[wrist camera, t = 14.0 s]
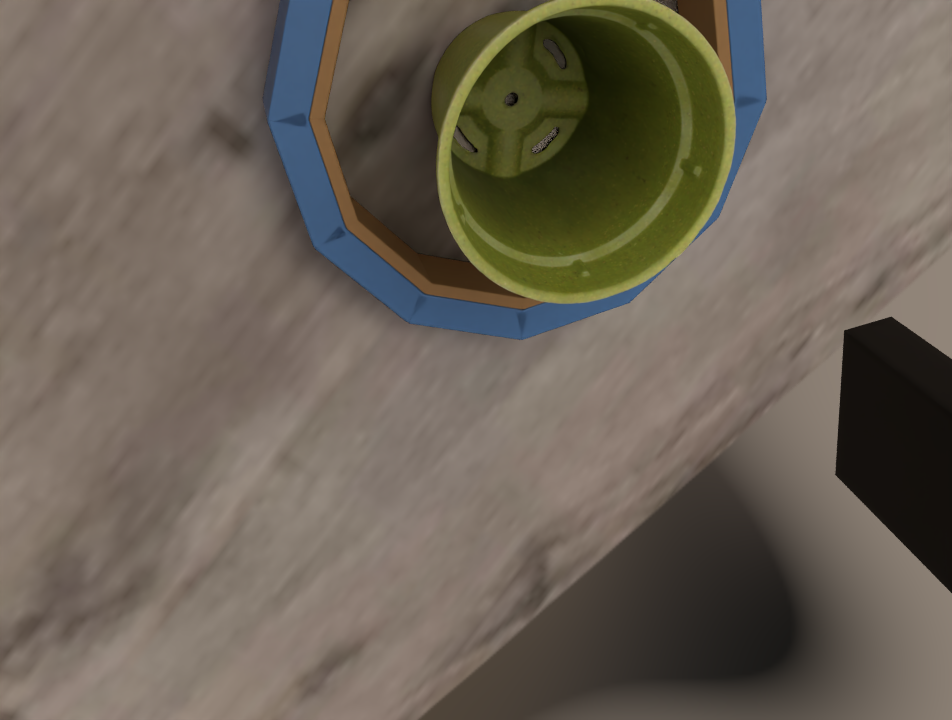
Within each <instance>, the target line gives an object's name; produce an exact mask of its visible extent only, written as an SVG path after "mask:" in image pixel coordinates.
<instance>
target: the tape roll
mask: <svg viewBox="0 0 952 720" xmlns="http://www.w3.org/2000/svg"><path fill="white" fill-rule="evenodd" d="M349 1H350V0H280V4H279V9H278V15H277V20H276V26H275V32H274V37H273V43H272V49H271V54H270V60H269V65H268V71H267V77H266V82H265V88H264V94H263V103H264V108H265V112H266V117H267V121H268V125H269V127H270V130H271V133H272V136H273V138H274V141H275V144H276V146H277V149H278V152H279V155H280V157H281V160H282V163H283V166H284V168H285V171H286V174H287V176H288V179H289V182H290V185H291V187H292V190H293V193H294V196H295V198H296V201H297V204H298V206H299V209H300V212H301V215H302V217H303V220H304V223H305V226H306V228H307V231H308V234H309V236H310V239H311V242H312V245H313V247H315V249H316V250H317V251H318V252H320V253H321V254H322V255H323V256H325V257H326V258H327V259H328V260H330V261H331V262H332V263H333V264H335V265H336V266H337V267H338V268H340V269H341V270H342V271H343V272H345V273H346V274H347V275H348V276H350V277H351V278H352V279H353V280H355V281H356V282H357V283H358V284H360V285H361V286H362V287H363V288H365V289H366V290H367V291H368V292H370V293H371V294H372V295H373V296H375V297H376V298H377V299H378V300H380V301H381V302H382V303H383V304H385V305H386V306H387V307H388V308H390V309H391V310H392V311H393V312H395V313H396V314H397V315H398V316H400V317H401V318H402V319H403V320H405V321H406V322H408V323H410V324H416V325H423V326H430V327H437V328H444V329H450V330H457V331H464V332H471V333H478V334H485V335H491V336H498V337H505V338H512V339H519V340H523V339H526V338H529V337H532V336H535V335H538V334H540V333H543V332H546V331H549V330H552V329H555V328H558V327H561V326H564V325H567V324H569V323H572V322H575V321H578V320H581V319H584V318H587V317H590V316H593V315H595V314H598V313H601V312H604V311H607V310H610V309H613V308H616V307H619V306H622V305H624V304H627V303H630V301H632V300H633V299H634V298H635V297H636V296H637V295H638V294H639V293H640V292H641V291H642V290H643V289H644V288H645V287H647V286H648V285H649V284H650V283H651V282H652V281H653V280H654V279H655V278H656V277H657V276H658V275H659V274H660V273H661V272H662V271H663V270H664V269H665V268H666V267H665V268H664V269H663V270H661V271H660V272H659V273H657V274H656V275H655V276H653V277H652V278H650V279H648V280H647V281H645V282H643V283H641V284H640V285H638V286H636V287H633V288H631V289H629V290H626V291H624V292H621V293H618V294H615V295H613V296H610V297H607V298H603V299H600V300H595V301H591V302H586V303H573V304H558V303H548V302H541V301H537V300H534V299H530V298H527V297H523V296H521V295H518V294H515V293H513V292H511V291H508V290H506V289H504V288H503V287H501V286H499V285H497V284H496V283H494V282H493V281H491V280H490V279H489V278H488V277H486V276H485V275H484V274H483V273H481V272H480V271H479V270H478V269H477V268H476V267H475V266H474V265H473V264H472V263H469V262H463V261H458V260H452V259H446V258H440V257H435V256H429V255H423V254H418V253H416V252H415V251H413V250H412V249H411V248H410V247H409V246H408V245H407V244H405V243H404V242H403V241H402V240H401V239H400V238H398V237H397V236H396V235H395V234H394V233H393V232H391V231H390V230H389V229H388V228H387V227H386V226H384V225H383V224H382V223H381V222H380V221H379V220H377V219H376V218H375V217H374V216H373V215H372V214H371V213H369V212H368V211H367V210H366V209H365V208H364V207H362V206H361V205H360V204H359V203H358V202H357V201H355V200H354V199H353V198H352V197H351V196H350V194H349V191H348V188H347V185H346V182H345V179H344V176H343V173H342V170H341V167H340V164H339V161H338V158H337V155H336V151H335V148H334V145H333V142H332V139H331V136H330V133H329V130H328V127H327V124H326V121H325V114H326V109H327V104H328V99H329V94H330V90H331V85H332V80H333V75H334V70H335V66H336V61H337V56H338V51H339V46H340V42H341V37H342V32H343V27H344V22H345V18H346V13H347V8H348V3H349ZM677 2H678V12H679V15H681V16H682V17H684V18H685V19H686V20H687V21H689V22H690V23H691V24H692V25H693V26H694V27H695V28H696V29H697V30H698V31H699V32H700V33H701V34H702V35H703V36H704V37H705V39H706V40H707V41H708V43H709V44H710V45H711V47H712V48H713V50H714V51H715V53H716V54H717V56H718V58H719V60H720V61H721V63H722V65H723V68H724V70H725V72H726V75H727V77H728V80H729V83H730V87H731V90H732V95H733V100H734V106H735V116H736V136H735V146H734V154H733V159H732V164H731V168H730V171H729V174H728V177H727V181H726V183H725V186H724V188H723V191H722V194H721V197H720V199H719V202H718V204H717V205H716V207H715V209H714V211H713V213H712V215H711V216H710V218H709V219H708V221H707V222H706V224H705V225H704V226H703V228H702V229H701V230H700V231H699V233H698V234H697V236H696V237H695V239H694V240H693V241H695V240H696V239H697V238H698V237H699V236H700V235H701V234H702V233H703V232H704V231H705V230H706V229H707V228H708V227H709V226H710V225H711V224H712V223H713V222H714V221H715V220H716V219H717V218H718V217H719V215H720V213H721V210H722V208H723V205H724V203H725V201H726V198H727V196H728V193H729V191H730V188H731V186H732V184H733V181H734V179H735V176H736V174H737V171H738V169H739V166H740V164H741V162H742V159H743V157H744V154H745V152H746V149H747V147H748V145H749V142H750V140H751V137H752V135H753V132H754V130H755V127H756V125H757V123H758V120H759V118H760V115H761V113H762V110H763V108H764V106H765V103H766V100H767V96H766V79H765V62H764V45H763V28H762V12H761V0H677ZM693 241H692V242H693ZM675 259H676V258H675ZM675 259H674V260H675ZM674 260H673V261H674ZM673 261H672V262H673ZM672 262H670V264H671V263H672Z"/></svg>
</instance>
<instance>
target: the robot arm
mask: <svg viewBox="0 0 952 720" xmlns="http://www.w3.org/2000/svg"><path fill="white" fill-rule="evenodd" d="M835 475H836V476H837V477H838V478H839V479H840V480H841V481H842V482H843V483H844V484H845V485H846V486H847V487H848V488H849V489H850V490H851V491H852V492H853V493H854V494H855V495H856V496H857V497H858V498H859V499H860V500H861V501H862V502H863V503H864V504H865V505H866V506H867V507H868V508H869V509H870V510H871V512H873V513H874V515H875V516H876V517H877V518H878V519H879V520H880V521H881V522H882V523H883V524H884V525H886V527H887V528H888V529H889V530H890V531H891V532H892V533H893V534H894V535H895V536H896V537H897V538H898V539H899V540H900V541H901V542H902V543H903V544H904V545H905V546H906V547H907V548H908V549H909V550H910V551H911V552H912V553H913V554H914V555H915V556H916V557H917V558H918V559H919V560H920V561H921V562H922V563H923V564H924V565H925V566H926V567H927V568H928V569H929V570H930V571H931V573H932V574H933V575H935V577H936V578H937V579H938V580H939V581H940V582H941V583H942V584H943V585H944V586H945V587H946V588H947V589H948V590H949V591H950V592H951V593H952V359H951V358H949V357H948V356H946V355H945V354H944V353H942V352H941V351H939V350H938V349H937V348H935V347H934V346H932V345H931V344H929V343H928V342H926V341H925V340H924V339H922V338H921V337H920V336H918V335H917V334H915V333H914V332H912V331H911V330H910V329H908V328H907V327H905V326H904V325H902V324H901V323H900V322H898V321H896V320H895V319H894V318H893V317H889V318H885V319H882V320H878V321H875V322H871V323H868V324H865V325H861V326H858V327H854V328H851V329H848V330H844V344H843V361H842V377H841V393H840V408H839V425H838V441H837V457H836V474H835Z"/></svg>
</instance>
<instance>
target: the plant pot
mask: <svg viewBox="0 0 952 720" xmlns="http://www.w3.org/2000/svg"><path fill="white" fill-rule="evenodd" d="M545 39H550V40H552V41H554V42H555V43H556V44H557V45H558V47H559V48H560V50H561V51H562V52H563V54H564V56H565V58H566V62H567V65H566V68H565V69H561V68H560V67H559V65H558V63H557V62H556V60H555V58H554V56H553V55H552V54H551V53H550V51H549V50H548V49H546V48H545V47H544V46H543V40H545ZM512 92H514V93H516V94H517V95H518V101H517V103H515V105H513V106H508V105H507V104H506V103H505V98H506V96H507V95H508V94H510V93H512ZM431 108H432V117H433V122H434V125H435V129H436V132H437V135H438V137H439V139H438V146H437V155H436V180H437V189H438V195H439V200H440V204H441V208H442V211H443V214H444V217H445V220H446V222H447V225H448V227H449V229H450V231H451V233H452V235H453V237H454V239H455V241H456V242H457V244H458V245H459V247H460V249H461V250H462V252H463V253H464V254H465V256H466V257H467V258H468V259H469V261H470V262H471V263H472V264H473V265H474V266H475V267H476V268H477V269H478V270H479V271H480V272H481V273H483V274H484V275H485V276H486V277H488V278H489V279H490V280H491V281H493V282H494V283H496V284H497V285H499V286H501V287H503V288H504V289H506V290H508V291H511V292H513V293H515V294H518V295H521V296H523V297H527V298H530V299H534V300H537V301H541V302H548V303H558V304H573V303H586V302H591V301H595V300H600V299H603V298H607V297H610V296H613V295H615V294H618V293H621V292H624V291H626V290H629V289H631V288H633V287H636V286H638V285H640V284H641V283H643V282H645V281H647V280H648V279H650V278H652V277H653V276H655V275H656V274H657V273H659V272H660V271H661V270H663V269H664V268H665V267H667V266H668V265H669V264H670V262H672V261H673V260H674V259H675V258H677V257H678V256H679V255H680V254H681V253H682V252H683V251H684V250H685V249H686V248H687V247H688V246H689V245H690V244H691V243H692V241H693V240H694V239H695V237H696V236H697V234H698V233H699V231H700V230H701V229H702V228H703V226H704V225H705V224H706V222H707V221H708V219H709V218H710V216H711V215H712V213H713V211H714V209H715V207H716V205H717V204H718V202H719V199H720V197H721V194H722V191H723V188H724V186H725V183H726V181H727V177H728V174H729V171H730V168H731V164H732V159H733V154H734V146H735V136H736V116H735V106H734V100H733V95H732V90H731V87H730V83H729V80H728V77H727V75H726V72H725V70H724V68H723V65H722V63H721V61H720V60H719V58H718V56H717V54H716V53H715V51H714V50H713V48H712V47H711V45H710V44H709V43H708V41H707V40H706V39H705V37H704V36H703V35H702V34H701V33H700V32H699V31H698V30H697V29H696V28H695V27H694V26H693V25H692V24H691V23H690V22H689V21H687V20H686V19H685V18H684V17H682V16H681V15H679V14H678V13H676V12H675V11H673V10H671V9H670V8H668V7H666V6H664V5H662V4H660V3H658V2H656V1H653V0H550V1H547V2H545V3H543V4H540V5H538V6H536V7H534V8H532V9H530V10H528V11H508V12H501V13H496V14H493V15H490V16H487V17H484V18H482V19H480V20H478V21H476V22H475V23H473V24H472V25H470V26H469V27H467V28H466V29H465V30H463V31H462V32H461V33H460V34H459V35H458V36H457V37H456V38H455V39H454V40H453V42H452V43H451V44H450V45H449V47H448V48H447V50H446V51H445V53H444V54H443V56H442V58H441V59H440V62H439V64H438V66H437V68H436V71H435V75H434V81H433V87H432V96H431ZM456 126H458V127H459V128H460V129H461V131H462V133H463V134H464V135H465V137H466V138H467V139H468V140H469V141H470V143H472V144H473V145H474V148H477V150H478V152H477V153H476V152H470V151H468V150H467V149H465V148H463V147H462V146H461V145H460V144H459V143H458V142H457V140H456V139H455V138H454V136H453V135H454V131H455V128H456ZM554 127H559V128H558V129H559V134H558V135H557V136H556V137H555V138H554V139H553V140H552V141H551V142H550V144H549V145H548V147H547V148H546V149H544V150H543V151H541V152H539V153H537V154H535V153H533V152H532V148H533V147H534V146H535V145H537V144H538V143H539V142H540V141H542V140H543V139H544V138H545V137H546V136H547V135H548V134H549V133H550V132H551V131H552V130H553V128H554Z"/></svg>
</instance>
